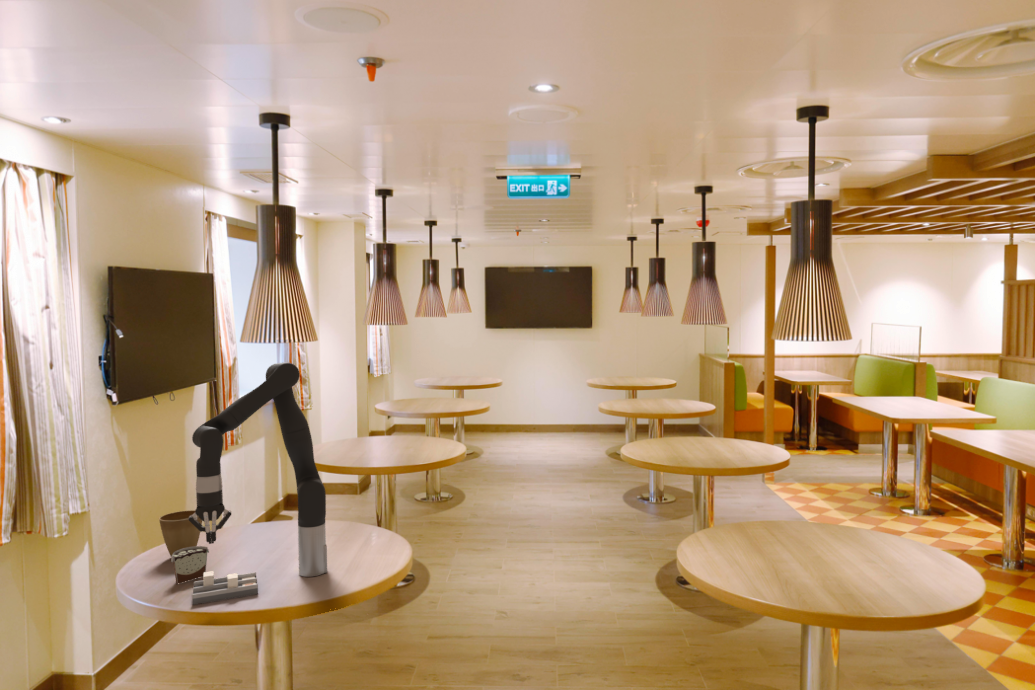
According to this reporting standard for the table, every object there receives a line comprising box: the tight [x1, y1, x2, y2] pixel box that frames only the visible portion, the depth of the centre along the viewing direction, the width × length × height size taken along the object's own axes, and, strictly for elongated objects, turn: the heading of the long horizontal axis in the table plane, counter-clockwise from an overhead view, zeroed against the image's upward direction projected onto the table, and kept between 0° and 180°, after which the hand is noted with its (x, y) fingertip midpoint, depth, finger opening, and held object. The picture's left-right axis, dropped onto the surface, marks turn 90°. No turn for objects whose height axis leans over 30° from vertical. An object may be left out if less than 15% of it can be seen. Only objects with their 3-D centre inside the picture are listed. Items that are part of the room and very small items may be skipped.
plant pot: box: [158, 509, 203, 559], centre depth 245 cm, size 15×15×16 cm
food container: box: [170, 545, 210, 585], centre depth 223 cm, size 12×6×10 cm, turn 141°
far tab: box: [202, 570, 215, 586], centre depth 210 cm, size 3×4×4 cm
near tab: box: [226, 572, 239, 588], centre depth 208 cm, size 3×4×4 cm
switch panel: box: [191, 572, 259, 605], centre depth 210 cm, size 19×12×3 cm, turn 115°
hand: (211, 543), depth 205 cm, fingers closed
